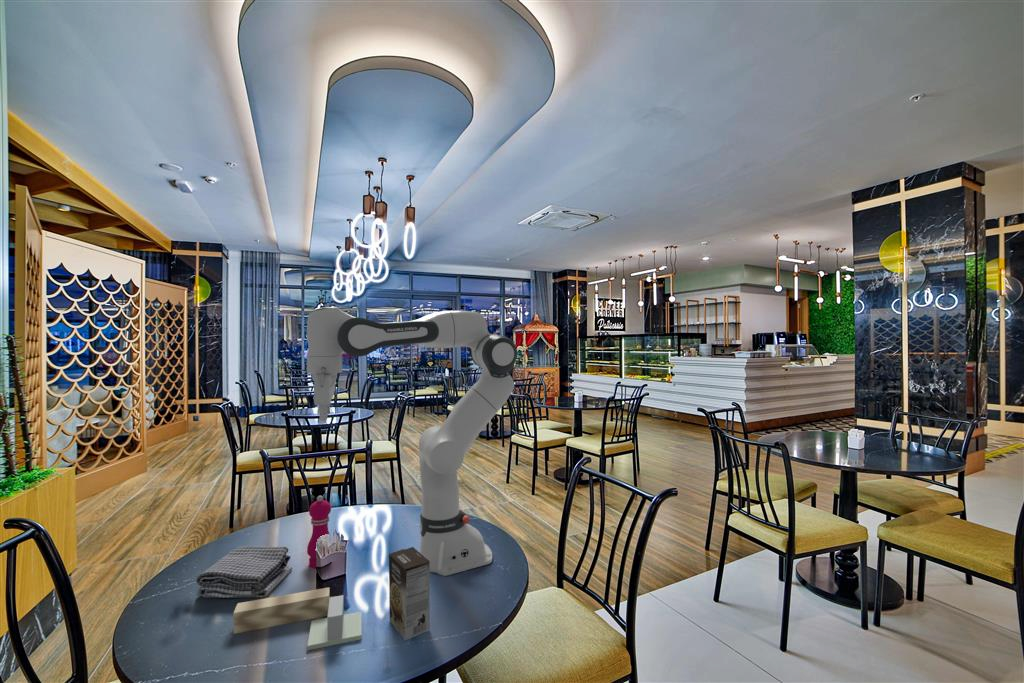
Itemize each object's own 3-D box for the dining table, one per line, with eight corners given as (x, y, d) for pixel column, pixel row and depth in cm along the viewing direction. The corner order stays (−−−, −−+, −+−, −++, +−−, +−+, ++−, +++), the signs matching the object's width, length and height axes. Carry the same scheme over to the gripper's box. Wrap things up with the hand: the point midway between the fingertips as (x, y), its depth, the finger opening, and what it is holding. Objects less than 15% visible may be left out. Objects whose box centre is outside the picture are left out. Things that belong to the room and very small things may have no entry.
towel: (233, 569, 131) (232, 543, 131) (295, 571, 130) (295, 544, 130) (194, 600, 116) (193, 570, 116) (264, 602, 115) (263, 571, 115)
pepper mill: (324, 570, 130) (323, 501, 130) (301, 567, 131) (301, 499, 131) (338, 558, 137) (338, 492, 137) (317, 555, 139) (316, 490, 138)
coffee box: (388, 621, 107) (387, 553, 107) (413, 611, 111) (413, 545, 111) (404, 642, 100) (403, 569, 99) (430, 630, 103) (430, 560, 103)
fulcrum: (361, 615, 109) (361, 590, 109) (361, 639, 100) (361, 612, 100) (311, 624, 106) (311, 599, 105) (307, 650, 97) (307, 622, 97)
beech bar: (329, 607, 113) (329, 587, 113) (328, 616, 109) (328, 595, 109) (237, 624, 106) (237, 603, 106) (233, 635, 103) (233, 613, 102)
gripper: (334, 368, 114) (335, 423, 115) (339, 364, 134) (339, 410, 134) (307, 369, 112) (307, 425, 113) (315, 364, 132) (316, 411, 132)
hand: (324, 417), depth 124 cm, fingers open, 8 cm apart
